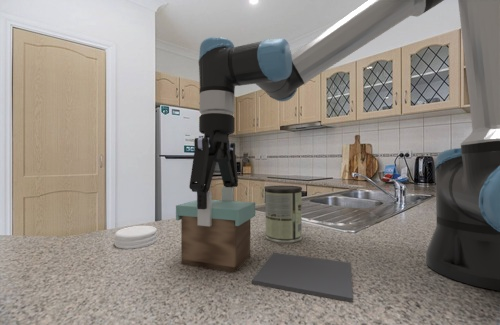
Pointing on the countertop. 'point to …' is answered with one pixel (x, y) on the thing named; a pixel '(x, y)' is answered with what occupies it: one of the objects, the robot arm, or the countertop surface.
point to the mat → (307, 276)
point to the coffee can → (283, 213)
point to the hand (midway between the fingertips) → (217, 219)
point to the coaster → (135, 237)
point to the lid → (220, 210)
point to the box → (215, 244)
